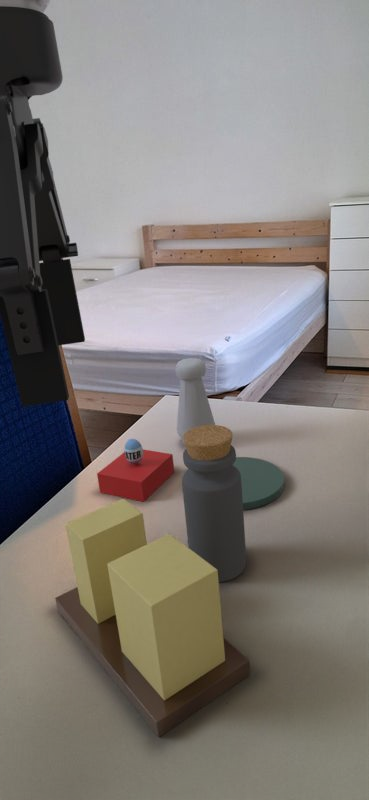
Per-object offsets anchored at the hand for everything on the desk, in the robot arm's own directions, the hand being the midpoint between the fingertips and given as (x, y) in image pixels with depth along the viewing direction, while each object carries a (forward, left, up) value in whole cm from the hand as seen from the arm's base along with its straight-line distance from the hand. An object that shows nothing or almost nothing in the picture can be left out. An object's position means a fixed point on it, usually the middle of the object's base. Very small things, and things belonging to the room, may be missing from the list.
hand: (58, 368), depth 42 cm
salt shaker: (-31, -29, -27) cm, 50 cm away
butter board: (-4, 0, -27) cm, 27 cm away
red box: (-18, -25, -27) cm, 41 cm away
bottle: (-15, -4, -27) cm, 31 cm away
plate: (-27, -15, -27) cm, 41 cm away
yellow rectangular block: (-4, -5, -25) cm, 26 cm away
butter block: (-4, +5, -25) cm, 26 cm away
